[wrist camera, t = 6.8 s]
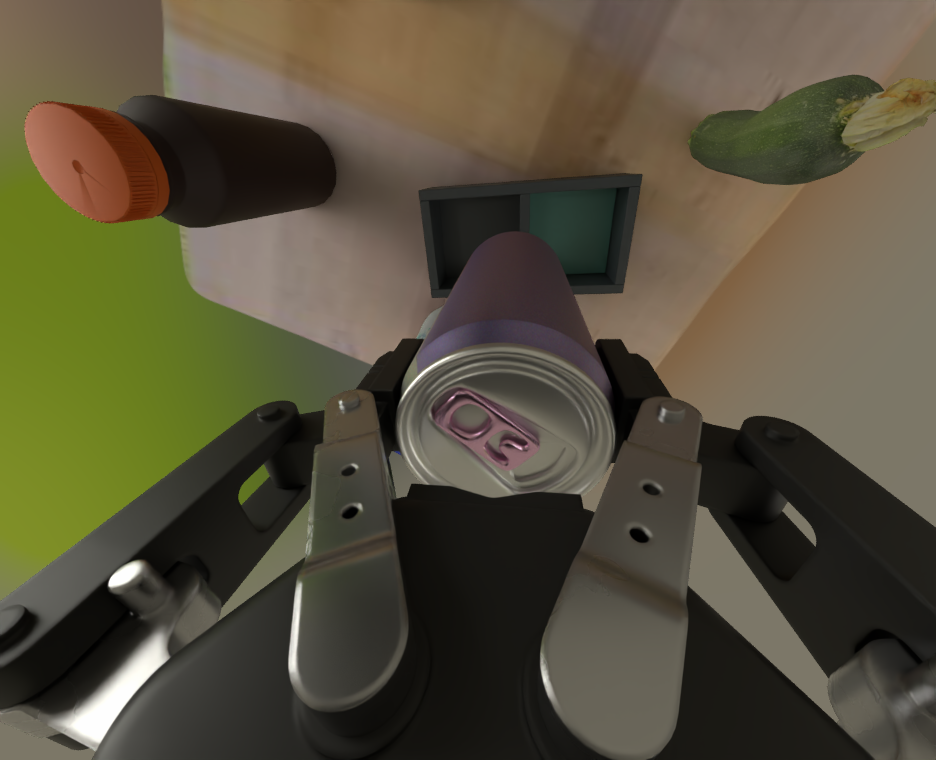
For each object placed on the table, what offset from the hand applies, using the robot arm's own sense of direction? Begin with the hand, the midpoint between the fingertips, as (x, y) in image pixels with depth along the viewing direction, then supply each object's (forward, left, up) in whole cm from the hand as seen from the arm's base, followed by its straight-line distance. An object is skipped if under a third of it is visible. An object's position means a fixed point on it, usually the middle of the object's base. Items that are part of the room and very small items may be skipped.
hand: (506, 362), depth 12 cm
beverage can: (0, 0, -11) cm, 11 cm away
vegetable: (-6, +15, -26) cm, 30 cm away
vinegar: (-7, -20, -26) cm, 34 cm away
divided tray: (0, +1, -26) cm, 26 cm away
